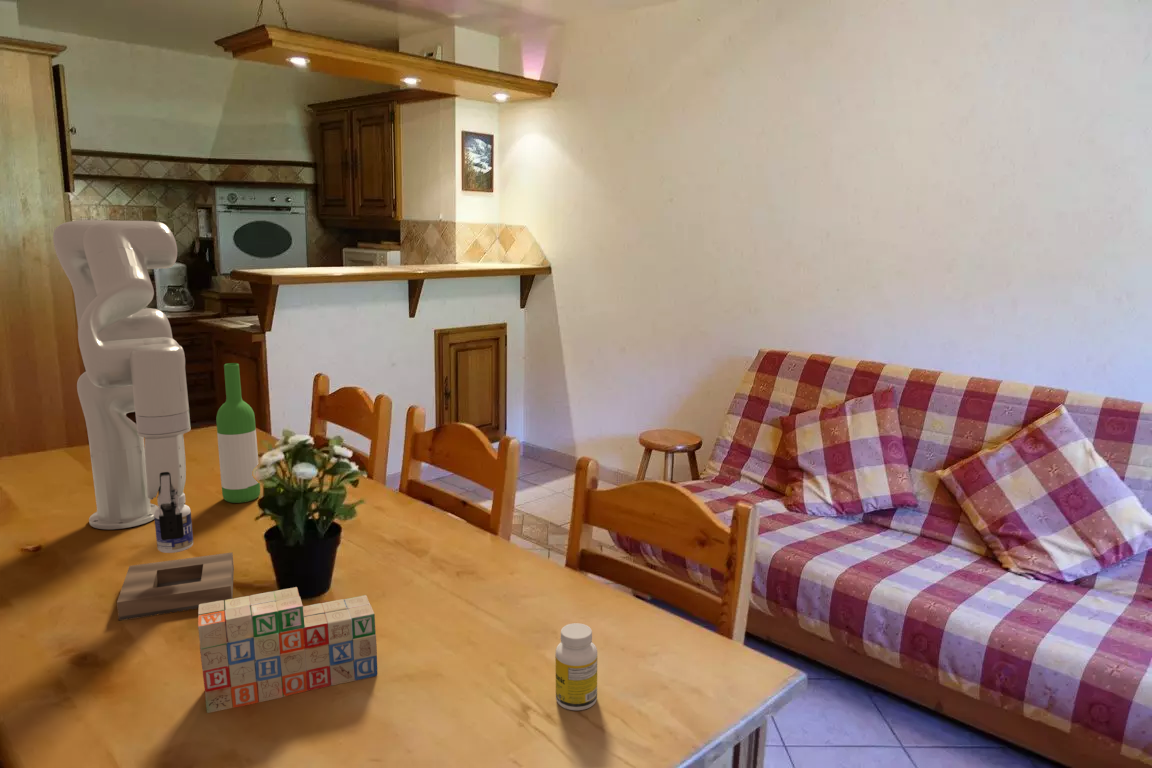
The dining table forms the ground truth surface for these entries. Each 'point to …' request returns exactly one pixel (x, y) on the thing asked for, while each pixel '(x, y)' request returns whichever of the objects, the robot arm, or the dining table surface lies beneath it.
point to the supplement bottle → (576, 668)
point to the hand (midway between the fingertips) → (174, 530)
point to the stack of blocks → (282, 646)
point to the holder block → (175, 585)
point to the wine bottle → (237, 442)
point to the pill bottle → (187, 539)
